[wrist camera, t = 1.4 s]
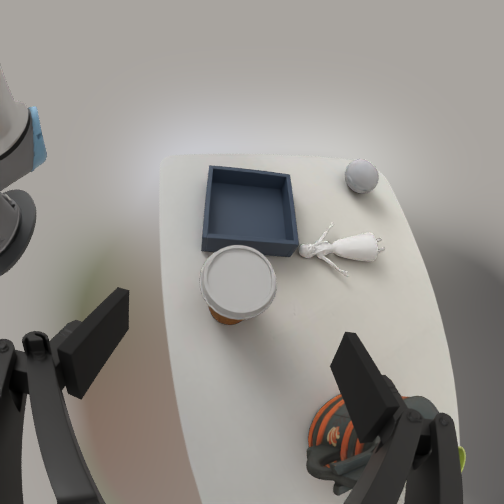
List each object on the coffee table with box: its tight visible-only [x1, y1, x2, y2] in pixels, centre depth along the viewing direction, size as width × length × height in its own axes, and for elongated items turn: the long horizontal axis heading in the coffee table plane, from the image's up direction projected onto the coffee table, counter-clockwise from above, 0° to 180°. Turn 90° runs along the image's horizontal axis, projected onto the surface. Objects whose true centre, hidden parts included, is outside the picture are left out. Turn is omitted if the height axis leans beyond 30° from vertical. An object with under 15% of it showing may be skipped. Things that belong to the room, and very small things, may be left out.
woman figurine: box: [299, 223, 385, 277], centre depth 50 cm, size 12×4×18 cm
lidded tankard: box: [306, 394, 439, 495], centre depth 26 cm, size 19×15×20 cm
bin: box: [201, 165, 299, 257], centre depth 49 cm, size 16×16×5 cm
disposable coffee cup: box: [199, 245, 277, 325], centre depth 37 cm, size 10×10×12 cm
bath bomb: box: [345, 159, 379, 193], centre depth 57 cm, size 8×8×8 cm
